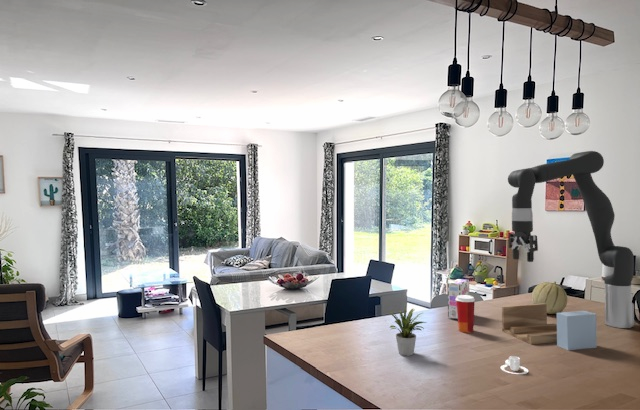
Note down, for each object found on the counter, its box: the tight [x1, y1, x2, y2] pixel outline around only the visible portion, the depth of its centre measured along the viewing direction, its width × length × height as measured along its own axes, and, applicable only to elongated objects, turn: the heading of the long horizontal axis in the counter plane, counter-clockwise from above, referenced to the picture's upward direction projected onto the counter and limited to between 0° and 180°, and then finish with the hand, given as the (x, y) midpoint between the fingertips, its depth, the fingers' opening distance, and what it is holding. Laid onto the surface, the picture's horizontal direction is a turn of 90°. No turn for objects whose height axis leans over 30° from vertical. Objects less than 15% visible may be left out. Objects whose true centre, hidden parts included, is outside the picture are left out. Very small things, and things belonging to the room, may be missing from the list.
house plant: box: [388, 306, 428, 356], centre depth 147 cm, size 14×14×16 cm
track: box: [501, 303, 557, 345], centre depth 165 cm, size 17×20×10 cm
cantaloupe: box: [531, 281, 568, 315], centre depth 198 cm, size 15×15×15 cm
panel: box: [556, 310, 598, 351], centre depth 152 cm, size 12×5×12 cm, turn 101°
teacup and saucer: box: [500, 355, 529, 375], centre depth 132 cm, size 9×8×4 cm
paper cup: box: [455, 294, 476, 334], centre depth 173 cm, size 8×8×14 cm
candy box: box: [447, 278, 470, 321], centre depth 195 cm, size 14×6×16 cm, turn 143°
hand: (522, 260), depth 168 cm, fingers open, 8 cm apart
